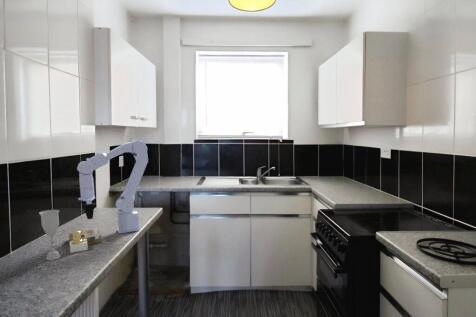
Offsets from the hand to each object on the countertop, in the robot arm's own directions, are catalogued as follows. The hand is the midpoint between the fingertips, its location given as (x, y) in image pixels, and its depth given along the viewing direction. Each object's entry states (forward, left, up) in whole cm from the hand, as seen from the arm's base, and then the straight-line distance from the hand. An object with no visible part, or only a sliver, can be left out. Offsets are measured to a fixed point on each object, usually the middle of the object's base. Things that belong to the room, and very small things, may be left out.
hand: (89, 217), depth 165 cm
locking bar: (0, +11, -6) cm, 12 cm away
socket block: (+3, +5, -9) cm, 11 cm away
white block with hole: (+6, +16, -9) cm, 19 cm away
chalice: (+15, +21, -10) cm, 28 cm away
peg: (+6, +16, -6) cm, 18 cm away
